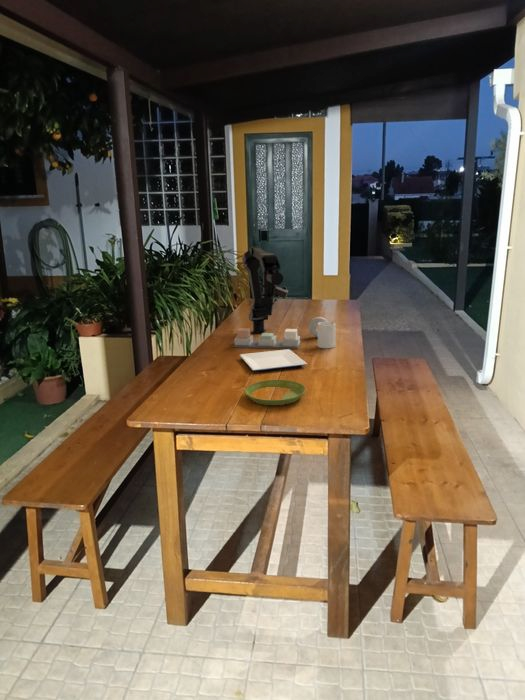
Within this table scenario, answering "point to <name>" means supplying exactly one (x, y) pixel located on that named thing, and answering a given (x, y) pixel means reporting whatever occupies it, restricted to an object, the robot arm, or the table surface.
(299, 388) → the saucer
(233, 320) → the table surface
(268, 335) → the sage button
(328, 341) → the mug
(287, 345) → the button panel
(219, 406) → the table surface
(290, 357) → the plate
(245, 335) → the terracotta button
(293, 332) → the cream button
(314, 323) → the donut
